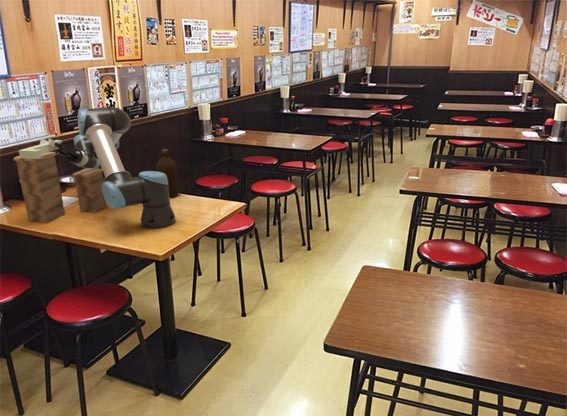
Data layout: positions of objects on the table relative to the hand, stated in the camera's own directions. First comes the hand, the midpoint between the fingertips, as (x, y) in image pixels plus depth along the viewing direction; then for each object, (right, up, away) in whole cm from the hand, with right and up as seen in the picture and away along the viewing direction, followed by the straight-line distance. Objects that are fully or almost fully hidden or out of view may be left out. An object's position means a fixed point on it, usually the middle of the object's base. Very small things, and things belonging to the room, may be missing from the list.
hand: (45, 141), depth 210 cm
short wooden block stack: (+16, -31, +16) cm, 38 cm away
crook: (+2, -5, -2) cm, 6 cm away
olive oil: (+48, -24, +35) cm, 64 cm away
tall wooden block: (-1, -35, +4) cm, 35 cm away
